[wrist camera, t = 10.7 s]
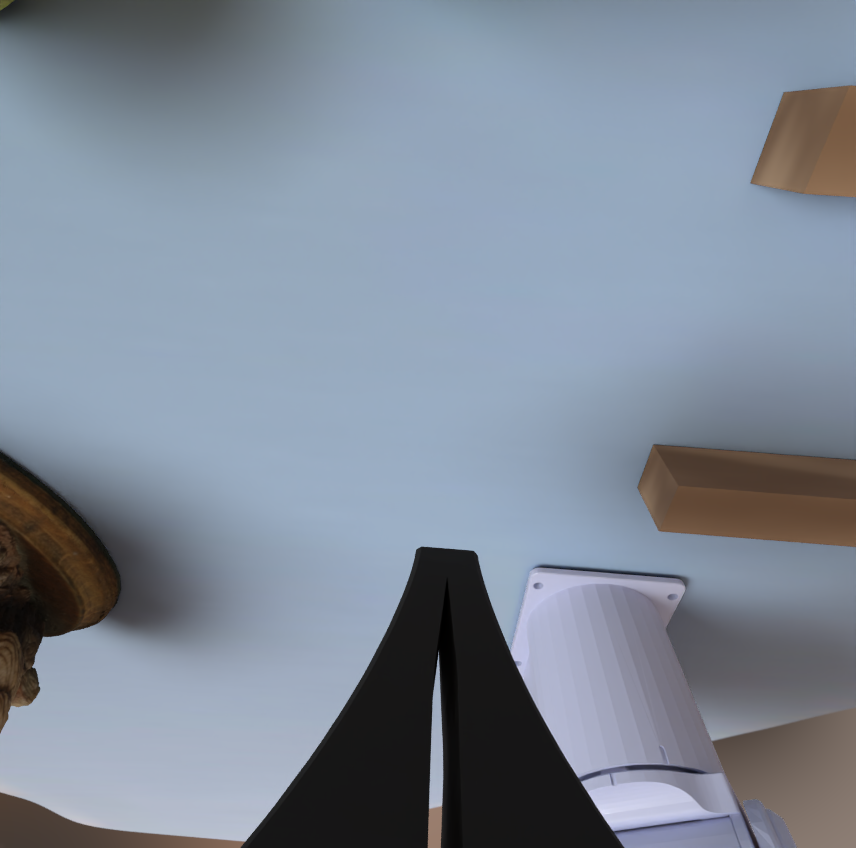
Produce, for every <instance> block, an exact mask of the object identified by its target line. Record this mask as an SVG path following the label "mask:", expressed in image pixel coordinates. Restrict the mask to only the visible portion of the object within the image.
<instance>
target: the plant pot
mask: <svg viewBox="0 0 856 848" xmlns="http://www.w3.org/2000/svg"><path fill="white" fill-rule="evenodd" d="M13 1H15V0H0V10H2V9H3V8H5V7H6V6H8V5H9V4H10V3H12V2H13Z"/></svg>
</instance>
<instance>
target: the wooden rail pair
mask: <svg viewBox="0 0 856 848" xmlns="http://www.w3.org/2000/svg"><path fill="white" fill-rule="evenodd" d="M751 183H752V184H757V185H762V186H767V187H772V188H777V189H783V190H788V191H793V192H798V193H803V194H817V195H832V196H847V197H856V86H841V87H831V88H822V89H812V90H802V91H793V92H784V94H783V96H782V99H781V102H780V104H779V107H778V110H777V113H776V115H775V118H774V121H773V123H772V126H771V129H770V131H769V134H768V137H767V140H766V142H765V145H764V148H763V150H762V153H761V156H760V158H759V161H758V164H757V167H756V169H755V172H754V175H753V177H752V180H751ZM638 490H639V492H640V494H641V496H642V498H643V500H644V502H645V504H646V506H647V508H648V510H649V512H650V514H651V516H652V518H653V520H654V522H655V524H656V526H657V528H658V530H659V531H662V532H675V533H687V534H700V535H713V536H725V537H738V538H751V539H763V540H776V541H788V542H801V543H814V544H826V545H839V546H851V547H856V460H847V459H834V458H821V457H808V456H795V455H781V454H768V453H755V452H742V451H729V450H716V449H703V448H690V447H676V446H663V445H653V447H652V450H651V452H650V455H649V458H648V461H647V463H646V466H645V469H644V471H643V474H642V477H641V479H640V482H639V485H638Z"/></svg>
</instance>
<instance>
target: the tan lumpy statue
mask: <svg viewBox="0 0 856 848" xmlns="http://www.w3.org/2000/svg"><path fill="white" fill-rule="evenodd" d="M120 590H121V583H120V575H119V573H118V571H117V568H116V565H115V564H114V562H113V560H112V559H111V557H110V555H109V553H108V551H107V549H106V548H105V547H104V546H103V544H102V543H101V541H100V540H99V539H98V538H97V537H96V535H95V534H94V532H93V531H92V530H91V528H90V527H89V526H88V525H87V524H86V523H85V522H84V521H83V519H82V518H81V517H80V516H79V515H78V514H77V513H76V512H75V511H74V510H73V509H72V508H71V507H70V506H69V505H68V504H67V503H66V502H64V501H63V500H62V499H61V498H60V497H58V496H57V495H56V494H55V493H54V492H53V491H51V490H50V489H49V488H48V487H47V486H45V485H44V484H43V483H41V482H40V481H39V480H38V479H37V478H35V477H34V476H33V475H31V474H30V473H28V472H27V471H25V470H24V469H22V468H21V467H20V466H18V465H17V464H16V463H15V462H14V461H12V460H11V459H10V458H8V457H7V456H5V455H4V454H2V453H1V452H0V733H1V730H2V729H3V727H4V725H5V723H6V721H7V720H8V712H9V710H10V707H11V706H16V707H20V706H28V705H29V704H31V703H32V701H33V700H34V699H35V698H36V696H37V694H38V693H39V691H40V687H39V682H38V677H37V672H36V669H35V668H32V666H33V664H34V662H35V654H36V652H37V651H38V650H37V649H38V648H39V645H40V643H41V641H42V638H43V637H52V636H59V635H63V634H65V633H67V632H70V631H75V630H81V629H84V628H88V627H90V626H93V625H95V624H97V623H99V622H100V621H101V620H103V619H104V618H105V617H106V616H107V614H108V613H109V612H110V611H111V609H112V608H113V607H114V606H115V604H116V603H117V601H118V596H119V593H120Z"/></svg>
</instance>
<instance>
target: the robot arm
mask: <svg viewBox="0 0 856 848" xmlns="http://www.w3.org/2000/svg"><path fill="white" fill-rule="evenodd" d="M685 590H686V587H685V585H684V583H683V581H682V580H680V579H675V578H663V577H651V576H638V575H626V574H614V573H601V572H589V571H577V570H564V569H552V568H535V569H533V570H531V572H530V573H529V577H528V581H527V585H526V589H525V594H524V598H523V602H522V606H521V610H520V614H519V618H518V622H517V626H516V630H515V634H514V638H513V642H512V646H511V650H509V648H508V646H507V643H506V641H505V638H504V636H503V633H502V631H501V628H500V626H499V623H498V621H497V619H496V616H495V613H494V611H493V608H492V605H491V602H490V599H489V596H488V593H487V590H486V587H485V584H484V581H483V577H482V574H481V570H480V565H479V561H478V555H477V554H476V553H475V552H474V551H469V550H457V549H444V548H432V547H420V548H418V549H417V550H416V554H415V559H414V563H413V567H412V570H411V574H410V577H409V580H408V582H407V585H406V588H405V590H404V593H403V596H402V598H401V600H400V603H399V605H398V607H397V609H396V612H395V614H394V616H393V618H392V621H391V623H390V625H389V627H388V629H387V631H386V633H385V635H384V637H383V639H382V641H381V643H380V645H379V647H378V649H377V651H376V653H375V655H374V656H373V658H372V660H371V662H370V664H369V666H368V668H367V669H366V671H365V673H364V675H363V676H362V678H361V680H360V682H359V683H358V685H357V687H356V688H355V690H354V692H353V693H352V695H351V697H350V698H349V700H348V702H347V703H346V705H345V706H344V708H343V710H342V711H341V713H340V714H339V716H338V717H337V719H336V720H335V722H334V723H333V725H332V726H331V728H330V729H329V731H328V732H327V734H326V735H325V737H324V739H323V740H322V741H321V743H320V744H319V746H318V747H317V749H316V750H315V752H314V753H313V754H312V756H311V757H310V759H309V760H308V761H307V763H306V764H305V765H304V767H303V768H302V769H301V771H300V772H299V774H298V775H297V776H296V778H295V779H294V780H293V782H292V783H291V784H290V786H289V787H288V788H287V790H286V791H285V792H284V794H283V795H282V796H281V798H280V799H279V800H278V802H277V803H276V804H275V806H274V807H273V808H272V810H271V811H270V812H269V813H268V815H267V816H266V817H265V819H264V820H263V821H262V822H261V823H260V825H259V826H258V827H257V828H256V829H255V831H254V832H253V833H252V834H251V836H250V837H249V838H248V839H247V840H246V842H245V843H244V844H243V845H242V847H241V848H428V817H429V785H430V756H431V727H432V700H433V690H434V683H435V675H436V667H437V660H438V652H439V664H440V689H441V712H442V736H443V803H442V833H441V848H797V847H796V845H795V842H794V840H793V838H792V836H791V834H790V832H789V830H788V828H787V826H786V824H785V822H784V820H783V818H781V817H780V816H779V815H777V814H775V813H774V812H773V811H771V810H770V809H765V807H764V805H763V804H762V802H760V801H759V800H756V799H753V800H747V801H743V804H744V807H745V810H746V812H747V815H748V818H749V820H748V818H747V816H746V814H745V812H744V810H743V808H742V806H741V804H740V802H739V800H738V798H737V796H736V794H735V792H734V791H733V789H732V787H731V785H730V783H729V781H728V779H727V777H726V775H725V773H724V771H723V768H722V766H721V763H720V761H719V758H718V756H717V753H716V751H715V749H714V746H713V744H712V741H711V739H710V736H709V734H708V732H707V729H706V727H705V724H704V722H703V719H702V717H701V715H700V712H699V710H698V707H697V705H696V702H695V700H694V697H693V695H692V693H691V690H690V688H689V685H688V683H687V680H686V678H685V676H684V673H683V671H682V668H681V666H680V663H679V661H678V659H677V656H676V654H675V651H674V649H673V646H672V644H671V641H670V639H669V637H668V634H667V632H666V627H667V625H668V623H669V621H670V619H671V617H672V615H673V614H674V612H675V610H676V608H677V606H678V604H679V602H680V600H681V598H682V596H683V594H684V592H685ZM523 680H524V681H523ZM749 821H750V823H751V825H750V823H749ZM751 826H752V827H751ZM752 828H753V830H754V832H753V830H752ZM754 833H755V835H754ZM755 836H756V837H755Z"/></svg>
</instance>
